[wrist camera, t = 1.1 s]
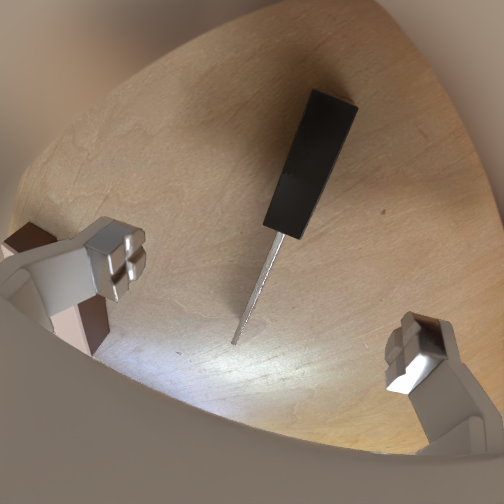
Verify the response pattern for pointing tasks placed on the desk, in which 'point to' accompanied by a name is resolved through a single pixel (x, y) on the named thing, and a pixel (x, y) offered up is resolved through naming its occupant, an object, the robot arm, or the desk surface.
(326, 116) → the knife
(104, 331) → the cake
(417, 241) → the desk surface
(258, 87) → the desk surface
